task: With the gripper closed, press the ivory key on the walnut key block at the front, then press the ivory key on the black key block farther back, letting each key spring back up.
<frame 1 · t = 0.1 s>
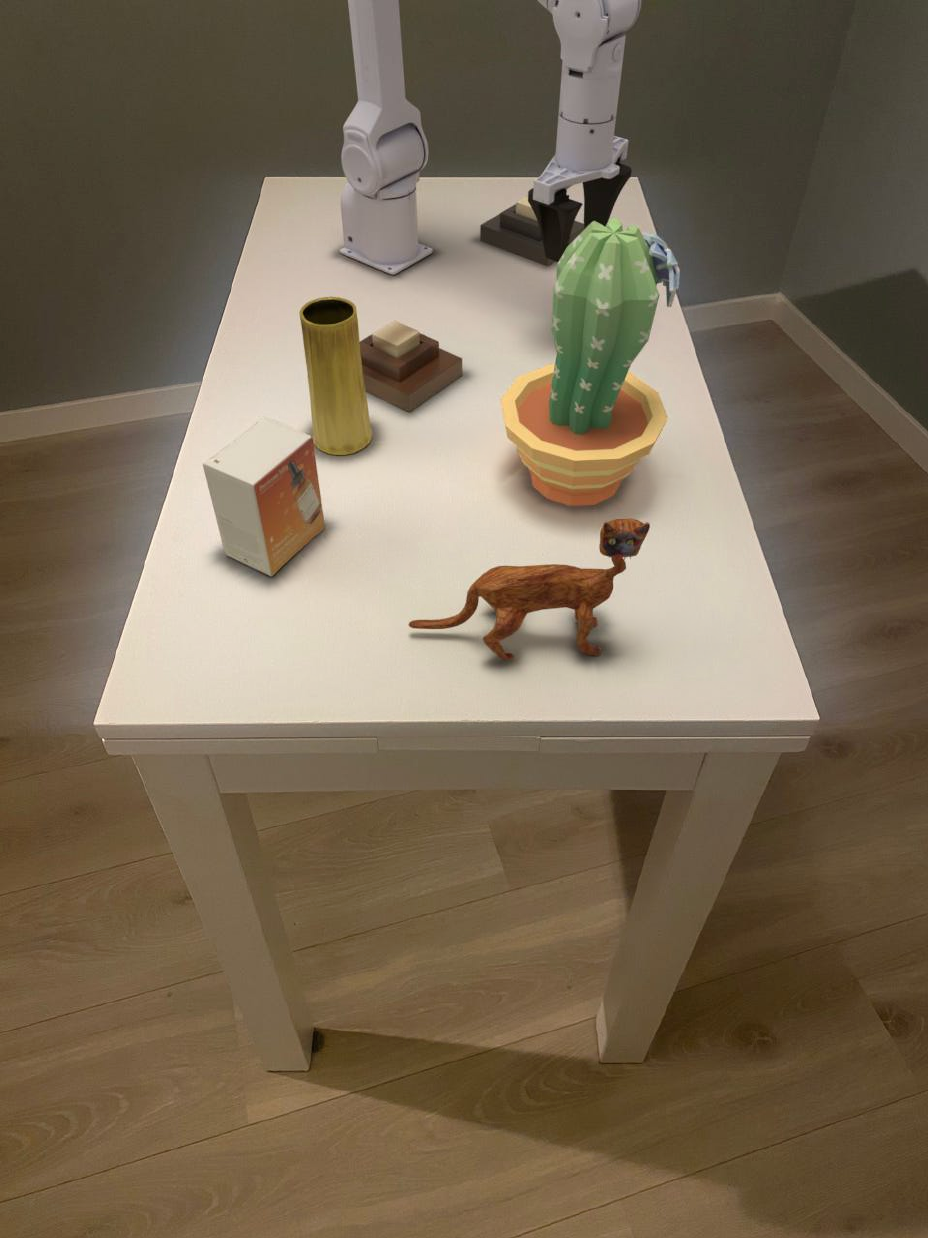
hand: (574, 245, 102), 10 cm above the table, tool pointing down, fingers open, 7 cm apart
vase: (342, 439, 96), on the table
potted cactus: (575, 477, 92), on the table
small box: (276, 542, 86), on the table
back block: (533, 240, 124), on the table
back key: (535, 207, 121), point 4 cm above the table, slide at 0.1 cm
front block: (398, 375, 103), on the table
front key: (396, 339, 100), point 4 cm above the table, slide at 0.1 cm
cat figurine: (516, 637, 78), on the table
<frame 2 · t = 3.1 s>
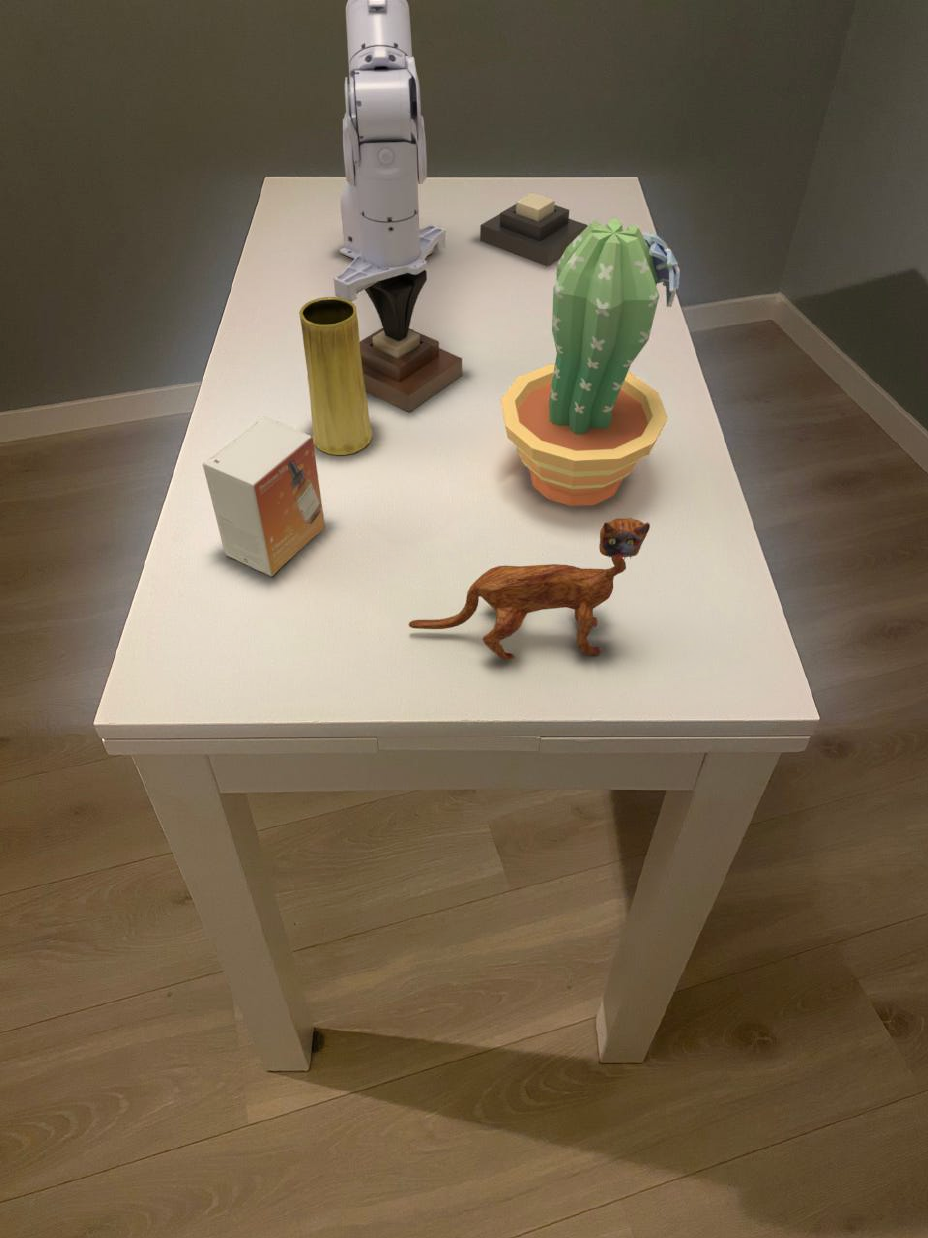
hand: (396, 335, 100), 5 cm above the table, tool pointing down, fingers closed, pressing on front key
front key: (396, 342, 100), point 4 cm above the table, slide at -0.3 cm, touching gripper
everything else where it was.
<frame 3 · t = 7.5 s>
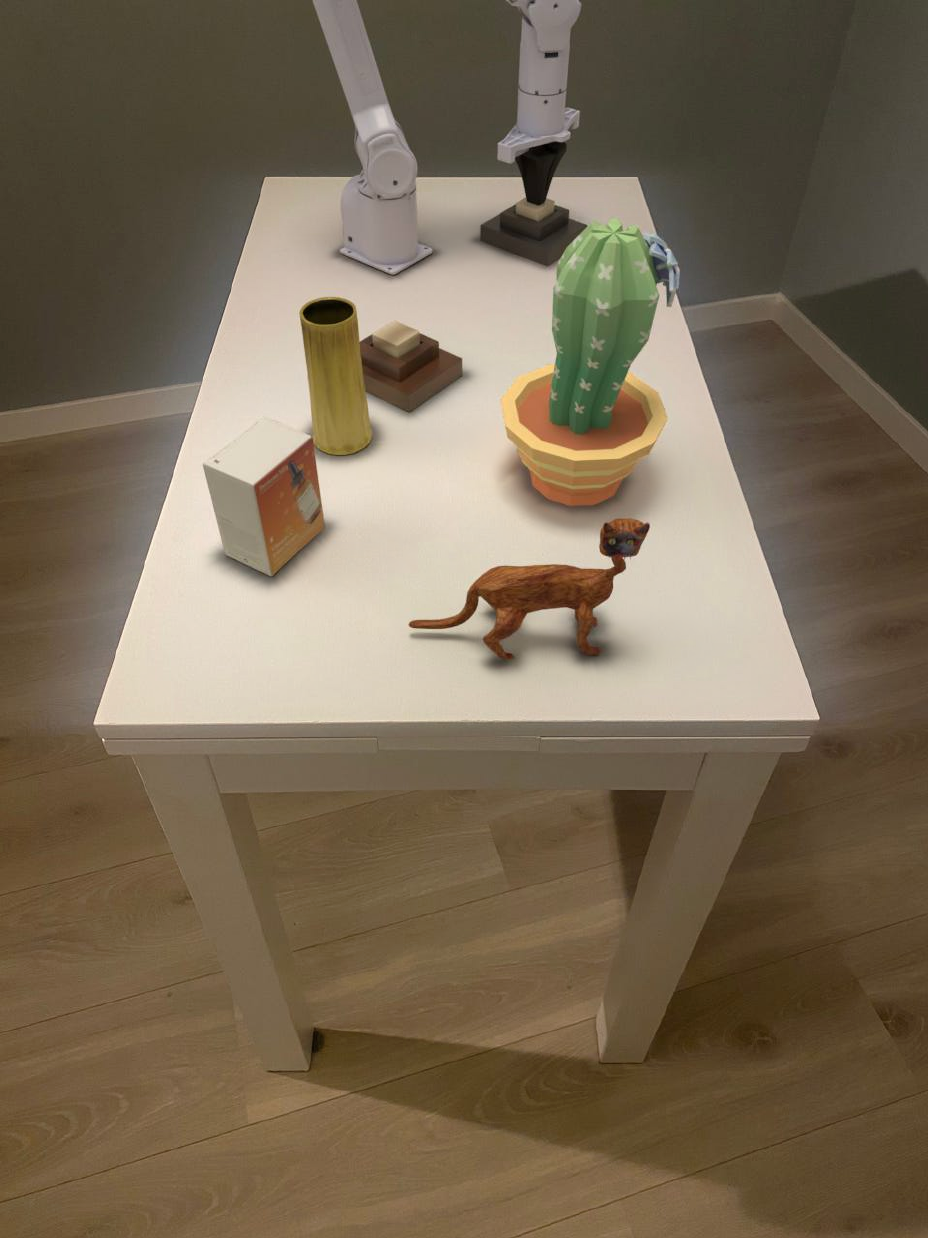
hand: (535, 201, 121), 5 cm above the table, tool pointing down, fingers closed, pressing on back key
back key: (535, 208, 121), point 4 cm above the table, slide at 0.0 cm, touching gripper
front key: (396, 339, 100), point 4 cm above the table, slide at 0.1 cm
everything else where it was.
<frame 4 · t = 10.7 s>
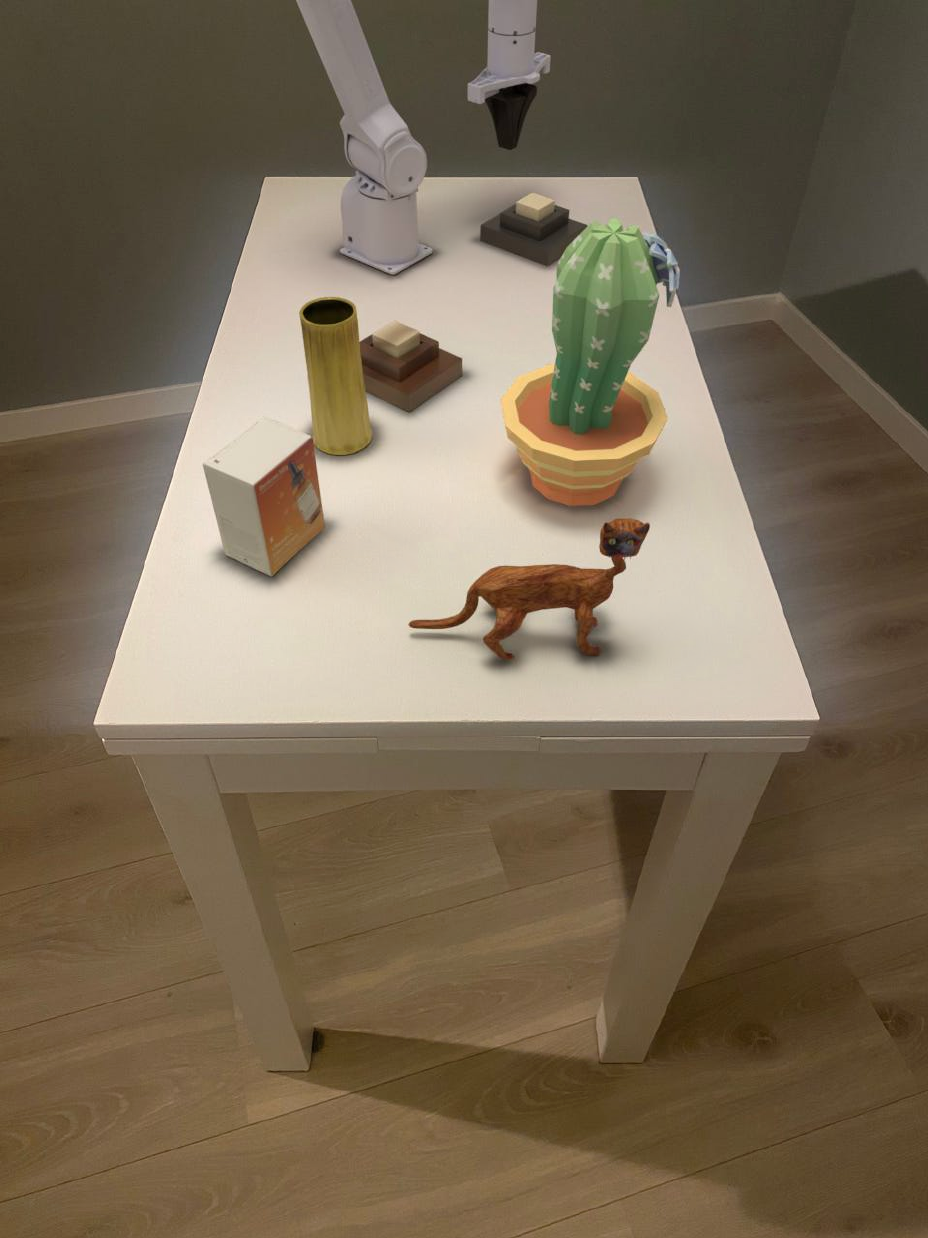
hand: (507, 146, 122), 9 cm above the table, tool pointing down, fingers closed
back key: (535, 207, 121), point 4 cm above the table, slide at 0.1 cm
everything else where it was.
at the end: front key pushed in 1.2 cm at the most during the clip, back to where it started at the end; back key pushed in 1.2 cm at the most during the clip, back to where it started at the end; back key slide at 0.1 cm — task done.
